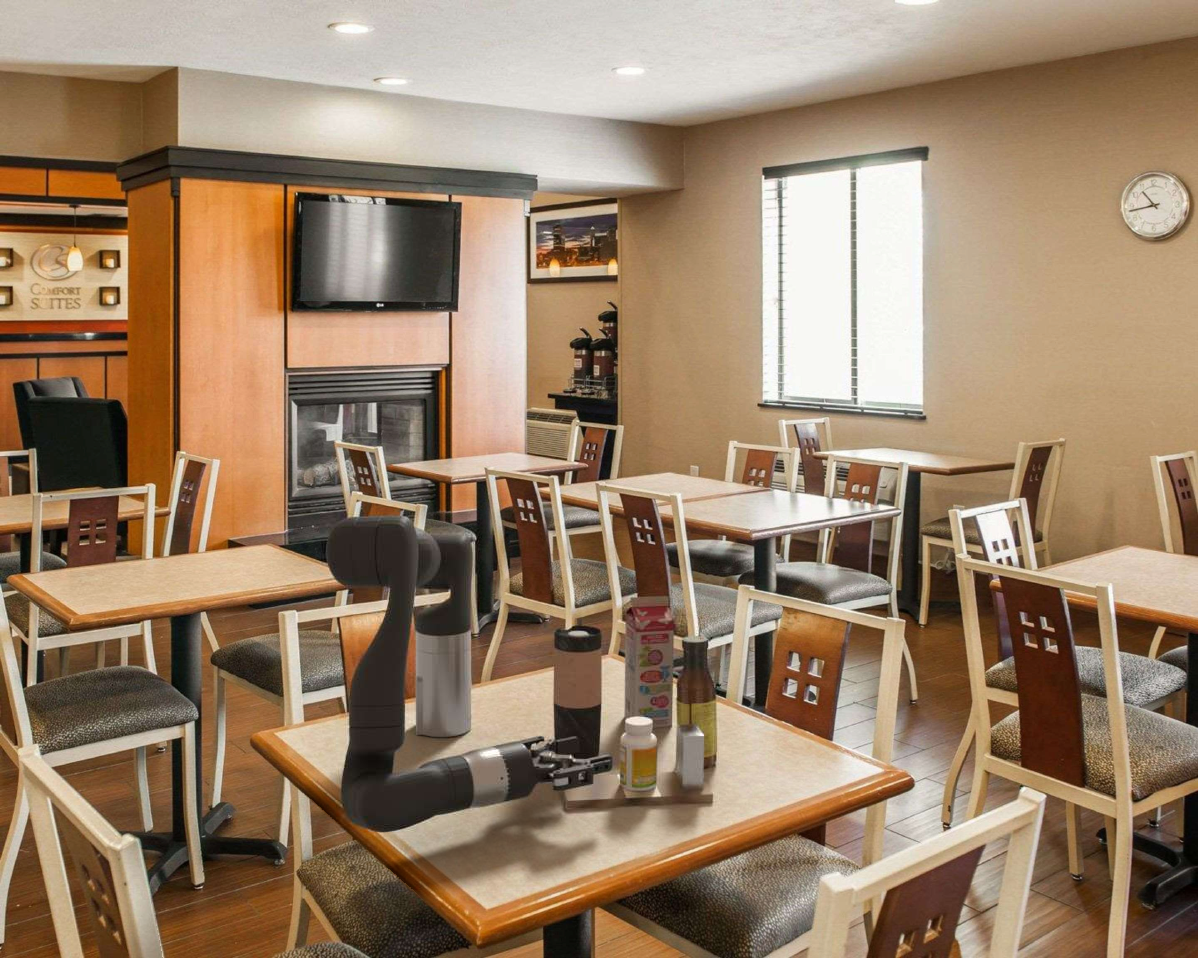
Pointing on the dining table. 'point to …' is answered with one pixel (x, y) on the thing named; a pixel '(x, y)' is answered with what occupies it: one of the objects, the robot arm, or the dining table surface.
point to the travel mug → (578, 687)
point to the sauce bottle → (698, 695)
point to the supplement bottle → (638, 755)
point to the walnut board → (633, 793)
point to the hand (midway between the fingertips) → (594, 752)
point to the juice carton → (649, 660)
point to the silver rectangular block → (689, 756)
